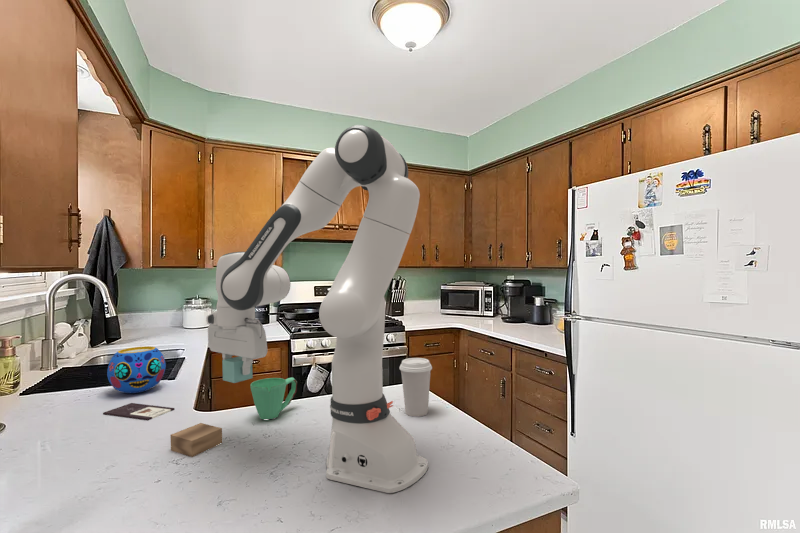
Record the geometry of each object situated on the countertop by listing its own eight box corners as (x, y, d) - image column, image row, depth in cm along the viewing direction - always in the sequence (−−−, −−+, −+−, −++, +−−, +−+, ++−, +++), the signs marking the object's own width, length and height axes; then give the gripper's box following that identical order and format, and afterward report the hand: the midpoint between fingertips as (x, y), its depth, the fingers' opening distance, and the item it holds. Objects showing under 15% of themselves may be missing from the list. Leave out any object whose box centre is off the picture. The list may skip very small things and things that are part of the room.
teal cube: (252, 378, 101) (252, 358, 101) (234, 383, 97) (233, 362, 97) (240, 375, 104) (240, 356, 104) (222, 380, 100) (222, 360, 100)
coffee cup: (396, 417, 113) (395, 364, 113) (404, 405, 122) (403, 356, 122) (430, 419, 111) (429, 365, 111) (435, 407, 120) (434, 357, 120)
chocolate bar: (131, 402, 130) (174, 408, 124) (131, 405, 129) (174, 411, 124) (103, 412, 121) (147, 418, 115) (103, 415, 121) (147, 422, 115)
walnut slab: (222, 444, 99) (221, 428, 99) (192, 458, 92) (191, 441, 92) (201, 438, 103) (200, 422, 103) (170, 451, 96) (170, 434, 96)
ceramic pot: (108, 403, 131) (106, 357, 131) (107, 390, 146) (106, 349, 146) (169, 392, 142) (168, 349, 142) (163, 381, 156) (162, 342, 156)
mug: (265, 426, 109) (264, 389, 109) (244, 419, 115) (243, 384, 115) (307, 410, 121) (306, 377, 121) (286, 404, 126) (285, 372, 126)
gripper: (273, 317, 97) (274, 375, 97) (225, 313, 109) (226, 364, 109) (249, 321, 92) (251, 381, 92) (202, 316, 104) (203, 370, 104)
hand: (237, 372), depth 100 cm, fingers closed on teal cube, 5 cm apart
